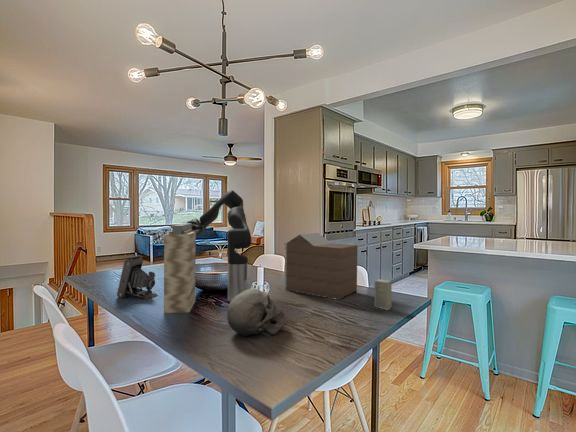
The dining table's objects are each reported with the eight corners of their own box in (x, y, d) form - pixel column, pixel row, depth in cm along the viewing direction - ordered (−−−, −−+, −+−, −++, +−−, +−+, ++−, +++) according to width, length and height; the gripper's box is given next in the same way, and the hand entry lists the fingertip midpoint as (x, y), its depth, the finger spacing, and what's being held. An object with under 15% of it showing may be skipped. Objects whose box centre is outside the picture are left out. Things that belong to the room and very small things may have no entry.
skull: (297, 322, 106) (255, 283, 102) (263, 361, 103) (219, 322, 99) (286, 310, 119) (248, 275, 115) (256, 344, 116) (216, 310, 112)
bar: (191, 230, 155) (191, 223, 154) (181, 234, 129) (181, 225, 129) (184, 230, 154) (184, 223, 154) (172, 234, 128) (172, 225, 128)
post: (195, 301, 146) (195, 229, 145) (189, 312, 130) (190, 231, 129) (172, 301, 144) (172, 229, 144) (163, 313, 128) (164, 231, 128)
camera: (144, 308, 146) (155, 266, 145) (113, 296, 149) (123, 255, 148) (158, 301, 157) (168, 263, 156) (129, 291, 160) (139, 253, 159)
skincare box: (391, 308, 138) (392, 280, 138) (387, 311, 135) (387, 282, 135) (378, 305, 142) (378, 278, 142) (373, 307, 139) (374, 280, 139)
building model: (302, 283, 186) (302, 231, 185) (356, 292, 166) (357, 235, 165) (282, 289, 170) (283, 233, 170) (340, 300, 150) (341, 237, 150)
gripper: (179, 220, 179) (173, 220, 163) (205, 220, 182) (201, 220, 166) (179, 234, 179) (173, 235, 163) (205, 234, 181) (201, 235, 165)
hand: (187, 228), depth 164 cm, fingers open, 8 cm apart
